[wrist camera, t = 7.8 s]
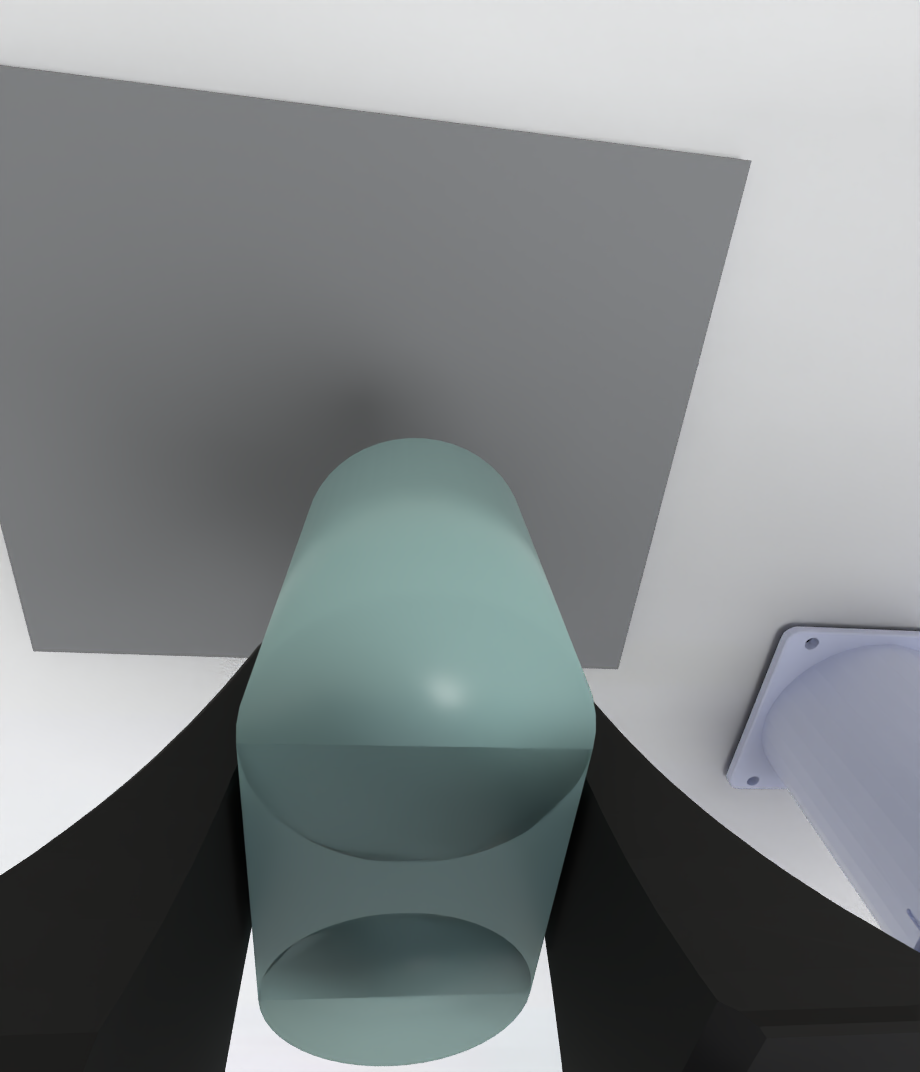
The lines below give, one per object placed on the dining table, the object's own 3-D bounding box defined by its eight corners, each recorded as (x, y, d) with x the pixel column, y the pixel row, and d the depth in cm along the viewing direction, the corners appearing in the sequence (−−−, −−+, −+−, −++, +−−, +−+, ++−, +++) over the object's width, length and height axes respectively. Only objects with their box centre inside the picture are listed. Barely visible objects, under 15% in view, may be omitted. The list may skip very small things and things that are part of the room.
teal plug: (303, 429, 10) (222, 585, 6) (538, 446, 11) (630, 603, 6) (311, 873, 15) (270, 1140, 11) (470, 872, 16) (494, 1128, 11)
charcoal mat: (742, 162, 16) (751, 160, 15) (613, 660, 23) (618, 668, 22) (-105, 55, 14) (-123, 49, 13) (41, 642, 21) (33, 651, 20)
